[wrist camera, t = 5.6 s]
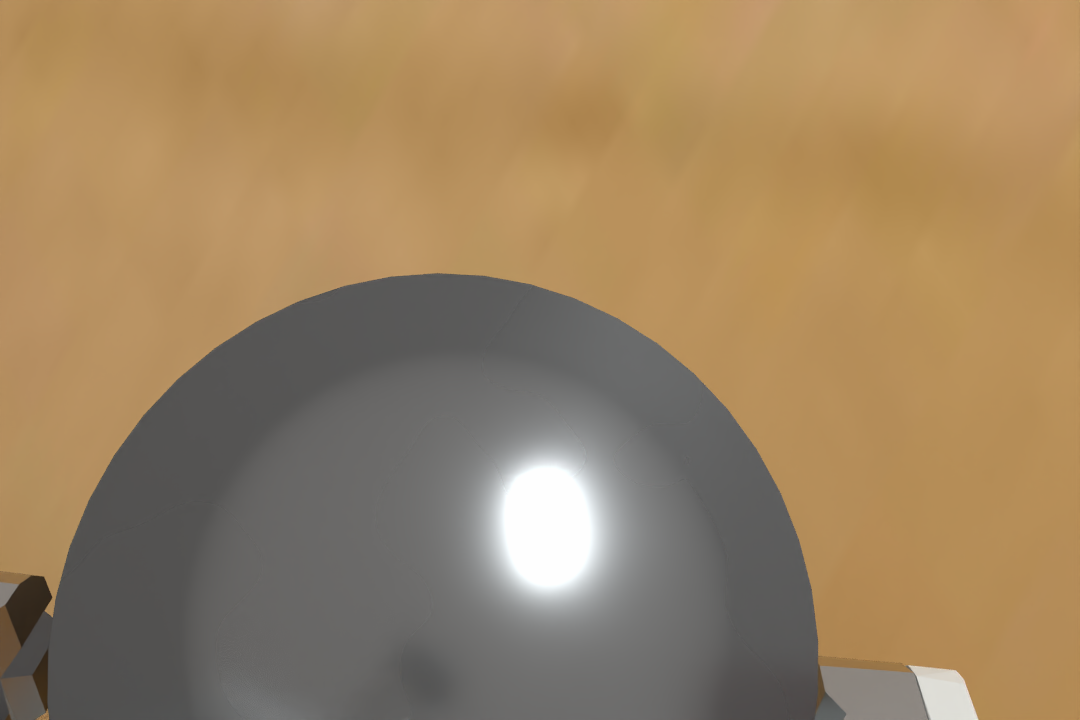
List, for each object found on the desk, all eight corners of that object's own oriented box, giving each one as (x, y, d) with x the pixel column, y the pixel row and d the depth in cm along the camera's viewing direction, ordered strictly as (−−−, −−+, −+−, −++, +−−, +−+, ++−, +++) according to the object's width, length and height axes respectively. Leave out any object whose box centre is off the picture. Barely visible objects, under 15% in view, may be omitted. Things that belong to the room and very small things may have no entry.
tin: (610, 782, 16) (727, 1178, 6) (299, 697, 16) (-69, 950, 6) (682, 466, 17) (883, 371, 7) (388, 390, 17) (187, 199, 7)
